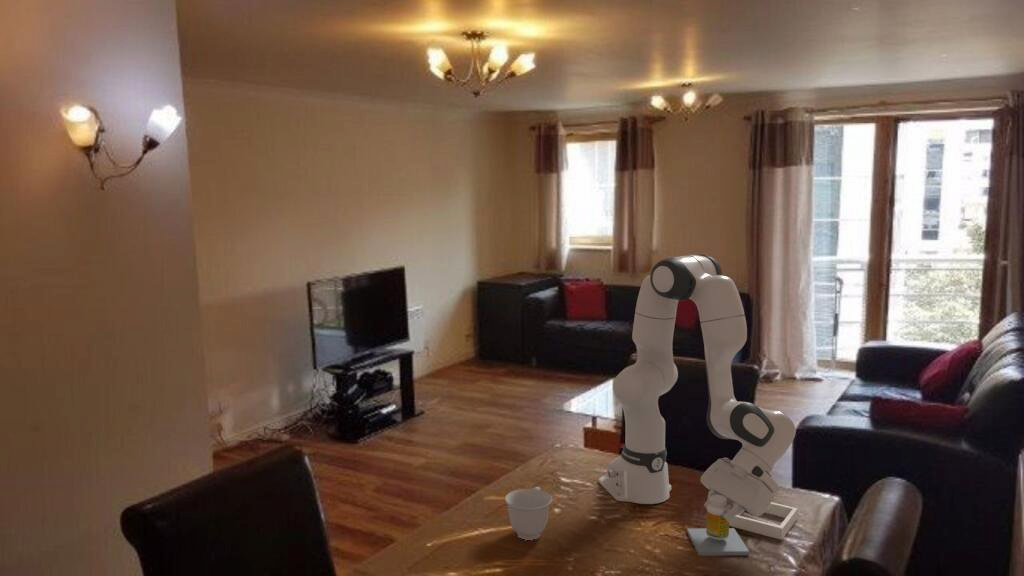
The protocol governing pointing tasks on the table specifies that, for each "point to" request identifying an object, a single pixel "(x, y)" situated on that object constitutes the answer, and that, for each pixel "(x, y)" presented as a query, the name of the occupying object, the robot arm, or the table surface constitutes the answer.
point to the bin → (768, 528)
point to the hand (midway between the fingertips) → (715, 513)
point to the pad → (717, 543)
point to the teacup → (528, 511)
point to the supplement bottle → (717, 518)
